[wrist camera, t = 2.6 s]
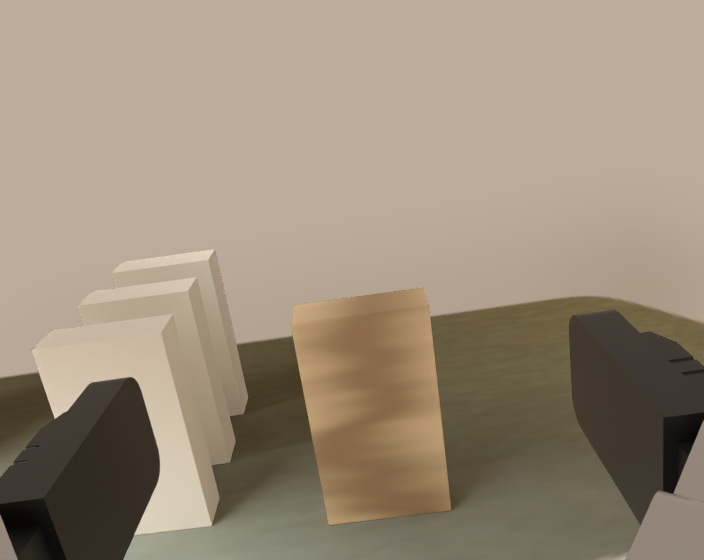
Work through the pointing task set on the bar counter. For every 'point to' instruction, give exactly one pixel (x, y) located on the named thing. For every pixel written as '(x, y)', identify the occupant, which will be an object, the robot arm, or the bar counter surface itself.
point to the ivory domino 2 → (194, 341)
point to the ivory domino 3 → (160, 399)
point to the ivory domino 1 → (214, 306)
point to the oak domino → (373, 405)
